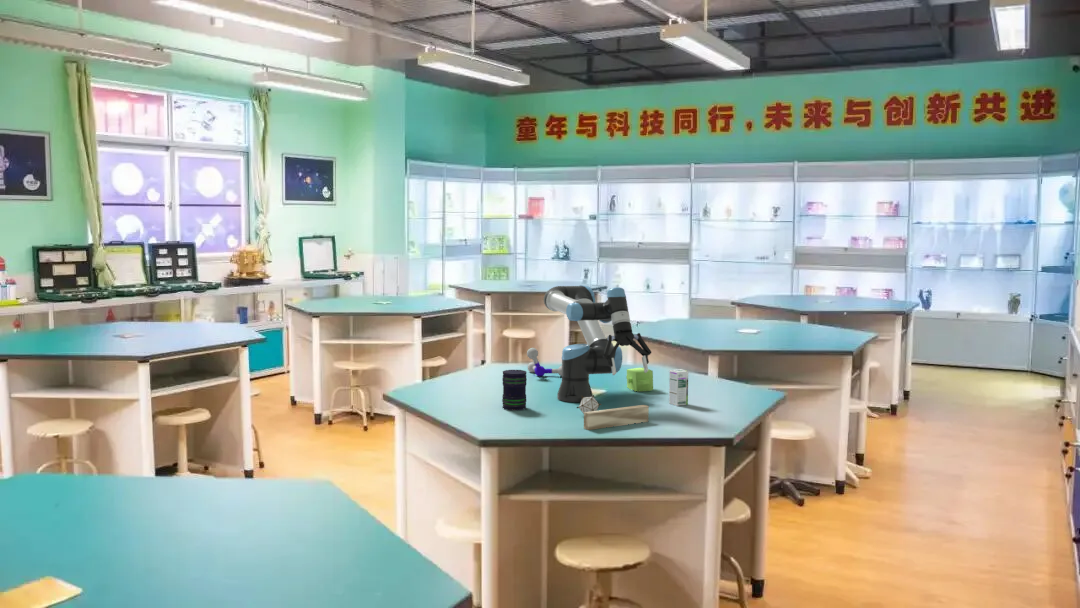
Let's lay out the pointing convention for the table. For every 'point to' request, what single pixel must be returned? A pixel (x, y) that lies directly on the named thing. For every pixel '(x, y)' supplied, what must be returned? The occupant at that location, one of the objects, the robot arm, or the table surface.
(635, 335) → the robot arm
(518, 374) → the storage jar
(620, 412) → the birch board
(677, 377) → the syrup box
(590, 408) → the game die
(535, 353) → the molecular model
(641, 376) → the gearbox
